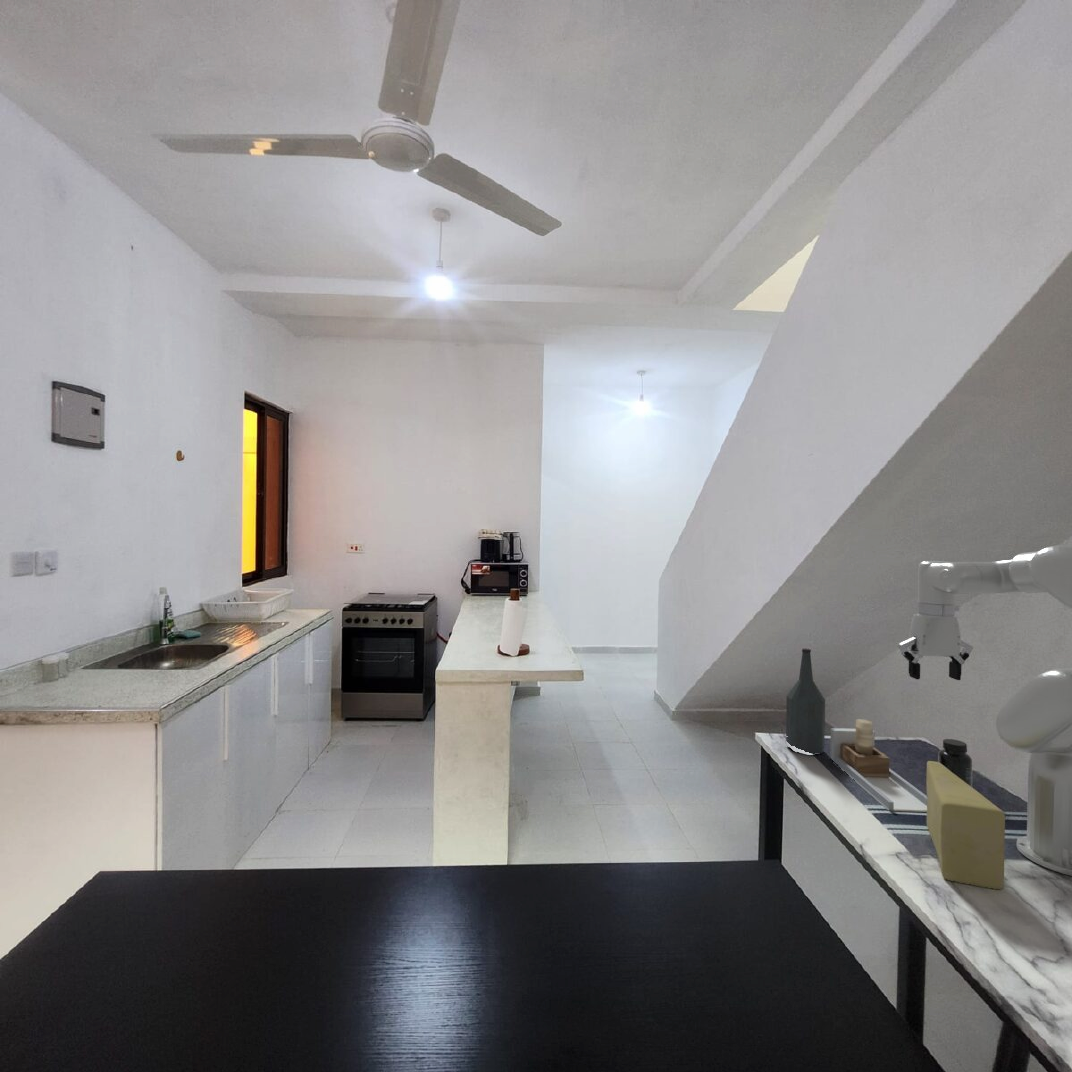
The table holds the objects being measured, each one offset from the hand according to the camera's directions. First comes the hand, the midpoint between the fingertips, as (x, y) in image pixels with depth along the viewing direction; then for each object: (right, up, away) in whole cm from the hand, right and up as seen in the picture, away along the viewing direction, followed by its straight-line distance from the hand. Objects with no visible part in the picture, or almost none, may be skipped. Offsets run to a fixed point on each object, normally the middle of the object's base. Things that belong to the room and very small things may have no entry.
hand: (934, 678), depth 136 cm
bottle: (-20, -28, +26) cm, 43 cm away
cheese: (-16, -29, -26) cm, 42 cm away
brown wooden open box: (-11, -27, +11) cm, 31 cm away
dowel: (-11, -27, +11) cm, 31 cm away
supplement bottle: (+6, -29, +1) cm, 29 cm away
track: (-11, -28, +4) cm, 31 cm away
